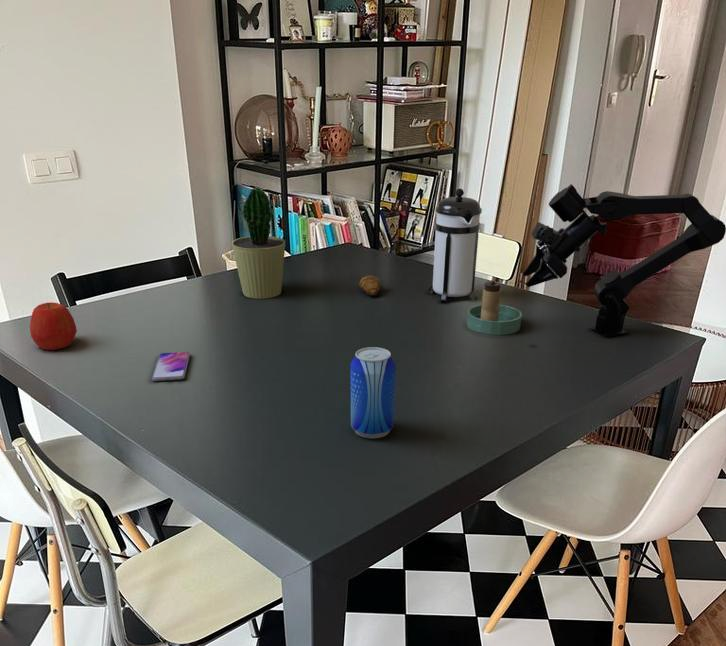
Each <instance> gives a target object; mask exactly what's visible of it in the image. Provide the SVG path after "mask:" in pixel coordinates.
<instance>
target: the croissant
mask: <svg viewBox="0 0 726 646" xmlns="http://www.w3.org/2000/svg"><path fill="white" fill-rule="evenodd" d="M358 286H359V288H360V290H361V291H362V292H363V293H365V294H366V295H367V296H369V297H372V298H374V297H376V296H377V295H378V293H379V292H380V290H381V287H382V283H381V280H380V278H379V277H378V276H377V277H376V276H375V275H371V274H369V275H366V276H363V277H362V278H361V279H360V281H359V283H358Z"/></svg>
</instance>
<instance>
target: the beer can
mask: <svg viewBox="0 0 726 646" xmlns="http://www.w3.org/2000/svg"><path fill="white" fill-rule="evenodd" d="M395 394H396V363H395V361H394V360H393V358H392V353H391V352H390V350H388V349H386V348H383V347H376V346H370V347H368V346H367V347H363V348H360V349H358V350H357V351H355V356H354V358H353V359H352V361H351V362H350V426H351V428H352V430H354V432H355V434H356V435H357V436H359V437H361V438H365V439H380V438H384V437H386V436H387V435H389V434H390V432H391V430H392V429H393V428H394V426H395V397H396V396H395Z"/></svg>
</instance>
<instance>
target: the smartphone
mask: <svg viewBox="0 0 726 646" xmlns="http://www.w3.org/2000/svg"><path fill="white" fill-rule="evenodd" d="M190 356H191V353H190V352H189V351H176V352H161V353H159V355H158V358H157V361H156V364H155V366H154V370H153V373H152V376H151V381H153V382H159V381H162V382H163V381H175V380H183V379H185V377H186V373H187V368H188V364H189V361H190Z"/></svg>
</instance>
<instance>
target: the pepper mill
mask: <svg viewBox="0 0 726 646" xmlns="http://www.w3.org/2000/svg"><path fill="white" fill-rule="evenodd" d="M501 295H502V289H501V283H500V282H499V281H495V280H491V281H489V280H488V281H486V282H485V283H484V288H483V289H482V298H481V305H482V307H481V318H480V319H482V320H488V321H498V315H499V306H500V305H501Z"/></svg>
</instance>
